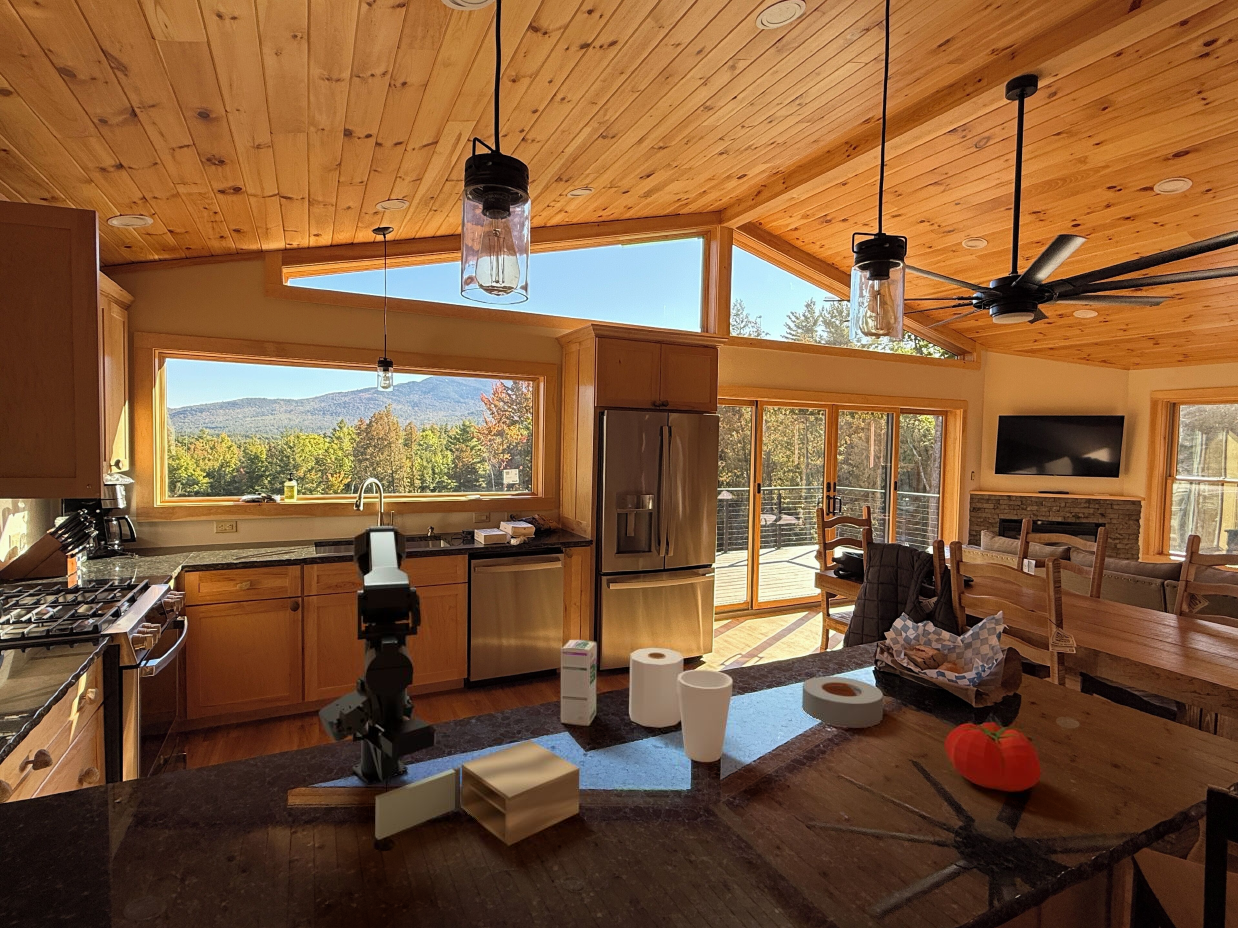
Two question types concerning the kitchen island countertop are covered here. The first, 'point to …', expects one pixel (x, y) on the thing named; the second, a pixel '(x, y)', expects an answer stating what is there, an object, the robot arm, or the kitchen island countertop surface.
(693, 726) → the foam cup
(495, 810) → the cabinet
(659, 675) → the toilet paper
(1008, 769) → the tomato
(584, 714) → the syrup box
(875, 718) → the tape roll
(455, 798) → the door
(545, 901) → the kitchen island countertop surface
